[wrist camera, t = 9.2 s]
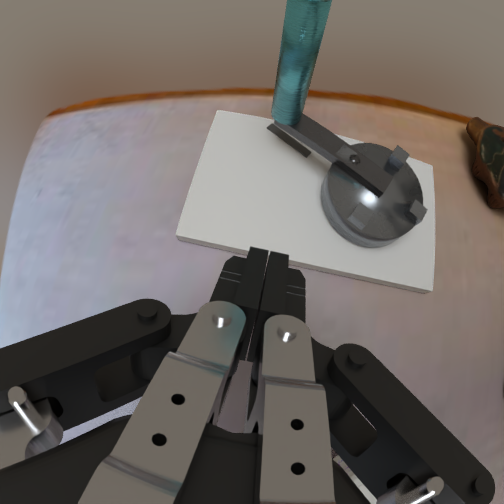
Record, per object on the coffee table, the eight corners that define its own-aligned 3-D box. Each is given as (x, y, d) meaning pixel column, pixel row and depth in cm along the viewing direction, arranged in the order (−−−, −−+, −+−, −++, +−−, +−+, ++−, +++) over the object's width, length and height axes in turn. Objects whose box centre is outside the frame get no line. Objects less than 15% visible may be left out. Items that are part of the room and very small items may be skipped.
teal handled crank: (420, 198, 28) (546, 79, 10) (381, 268, 26) (552, 161, 7) (292, 106, 30) (328, -59, 12) (237, 159, 28) (239, -38, 10)
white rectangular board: (426, 171, 31) (433, 164, 29) (424, 293, 27) (433, 290, 26) (218, 118, 31) (217, 108, 30) (178, 240, 28) (174, 234, 26)
